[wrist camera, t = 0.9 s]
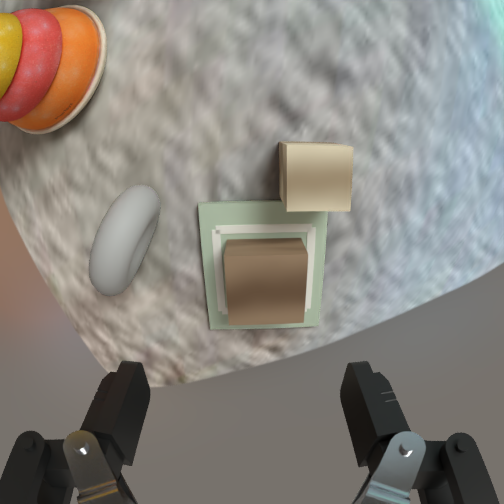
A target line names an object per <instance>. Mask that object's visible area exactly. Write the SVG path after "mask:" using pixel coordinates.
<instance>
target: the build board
mask: <svg viewBox="0 0 504 504" xmlns="http://www.w3.org/2000/svg"><path fill="white" fill-rule="evenodd" d="M198 210H199V223H200V235H201V246H202V257H203V267H204V277H205V287H206V296H207V305H208V314H209V322H210V329H268V328H292V327H310V326H318V324H319V315H320V306H321V296H322V285H323V274H324V262H325V248H326V233H327V215H328V211H291V212H287V211H286V209H285V206H284V204H283V202H282V200H257V201H224V202H200V203H199V204H198ZM265 238H301V239H302V241H303V243H304V246H305V248H306V250H307V252H308V270H307V286H306V300H305V314H304V323H291V324H266V325H229V320H228V307H227V294H226V280H225V265H224V253H225V248H226V242H227V239H265Z"/></svg>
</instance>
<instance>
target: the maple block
mask: <svg viewBox="0 0 504 504" xmlns="http://www.w3.org/2000/svg"><path fill="white" fill-rule="evenodd" d="M352 169H353V147H351V146H346V145H341V144H336V143H327V142H279V195H280V197H281V200H282V202H283V204H284V206H285V209H286V211H287V212H291V211H350V207H351V191H352Z"/></svg>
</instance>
